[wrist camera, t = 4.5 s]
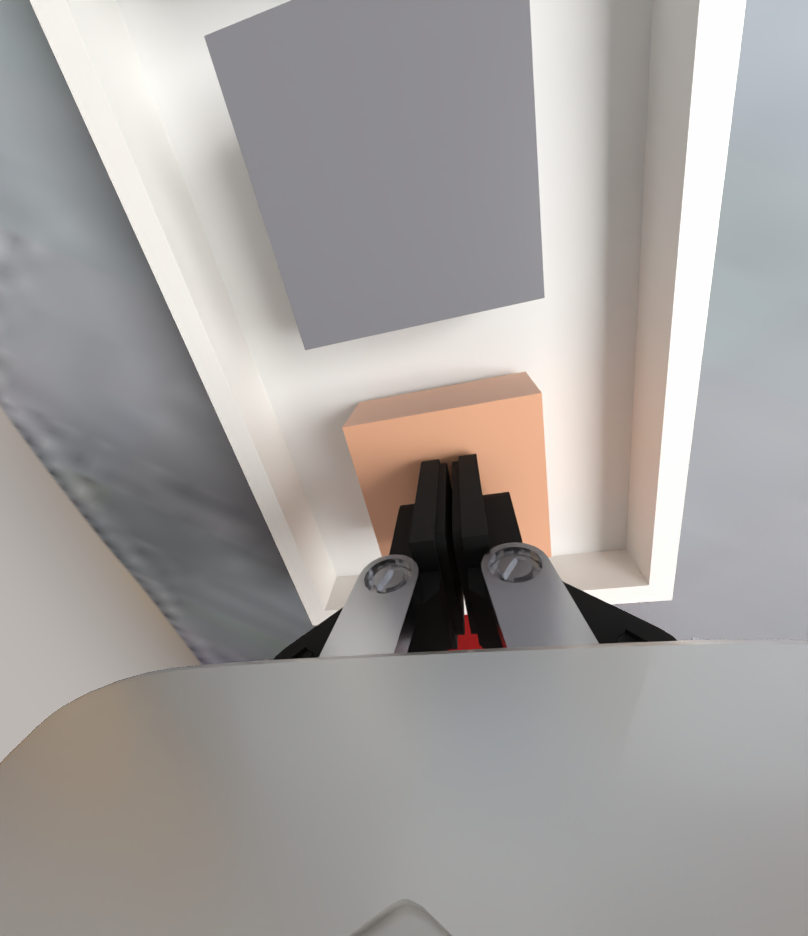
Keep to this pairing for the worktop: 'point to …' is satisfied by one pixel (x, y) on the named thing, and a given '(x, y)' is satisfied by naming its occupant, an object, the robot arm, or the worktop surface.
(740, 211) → the worktop surface
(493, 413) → the terracotta key
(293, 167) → the charcoal key
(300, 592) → the white rectangular tray
